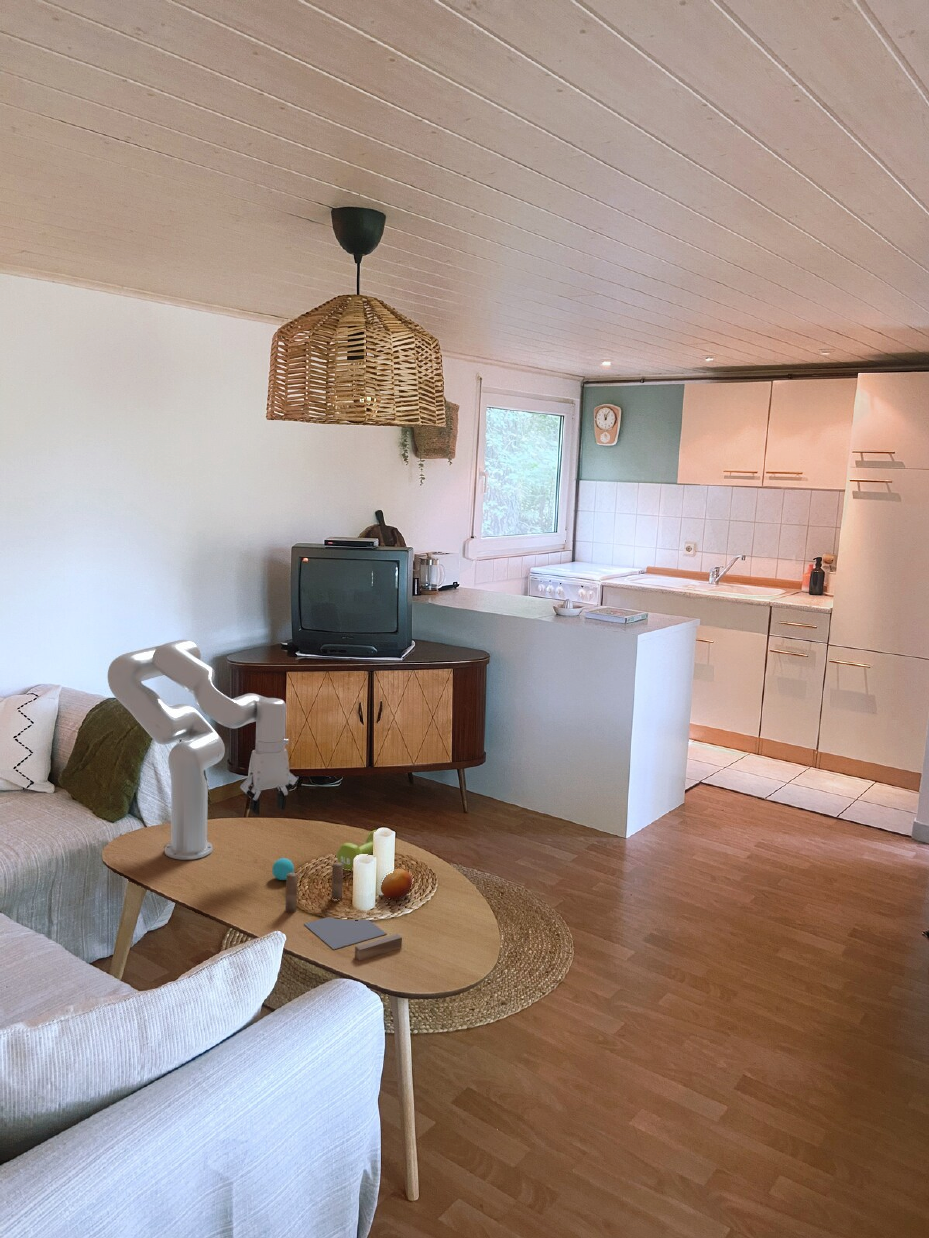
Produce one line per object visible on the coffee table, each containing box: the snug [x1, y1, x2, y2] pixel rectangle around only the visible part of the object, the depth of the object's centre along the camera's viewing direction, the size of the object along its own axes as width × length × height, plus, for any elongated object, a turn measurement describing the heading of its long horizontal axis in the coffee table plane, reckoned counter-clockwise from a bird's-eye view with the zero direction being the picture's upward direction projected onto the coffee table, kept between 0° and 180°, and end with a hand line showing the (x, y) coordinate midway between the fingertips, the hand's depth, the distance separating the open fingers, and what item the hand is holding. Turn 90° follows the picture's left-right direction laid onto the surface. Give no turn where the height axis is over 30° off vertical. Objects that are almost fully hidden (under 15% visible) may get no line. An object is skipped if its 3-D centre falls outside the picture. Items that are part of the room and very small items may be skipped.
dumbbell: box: [336, 829, 378, 873], centre depth 254 cm, size 16×8×7 cm, turn 147°
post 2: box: [330, 861, 344, 900], centre depth 230 cm, size 3×3×9 cm
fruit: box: [380, 868, 413, 901], centre depth 234 cm, size 8×8×8 cm
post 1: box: [284, 872, 299, 914], centre depth 223 cm, size 3×3×9 cm
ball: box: [272, 857, 295, 881], centre depth 240 cm, size 6×6×6 cm
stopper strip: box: [354, 933, 403, 962], centre depth 206 cm, size 2×11×2 cm, turn 127°
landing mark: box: [303, 916, 387, 950], centre depth 216 cm, size 14×14×1 cm
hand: (268, 810), depth 246 cm, fingers open, 6 cm apart
